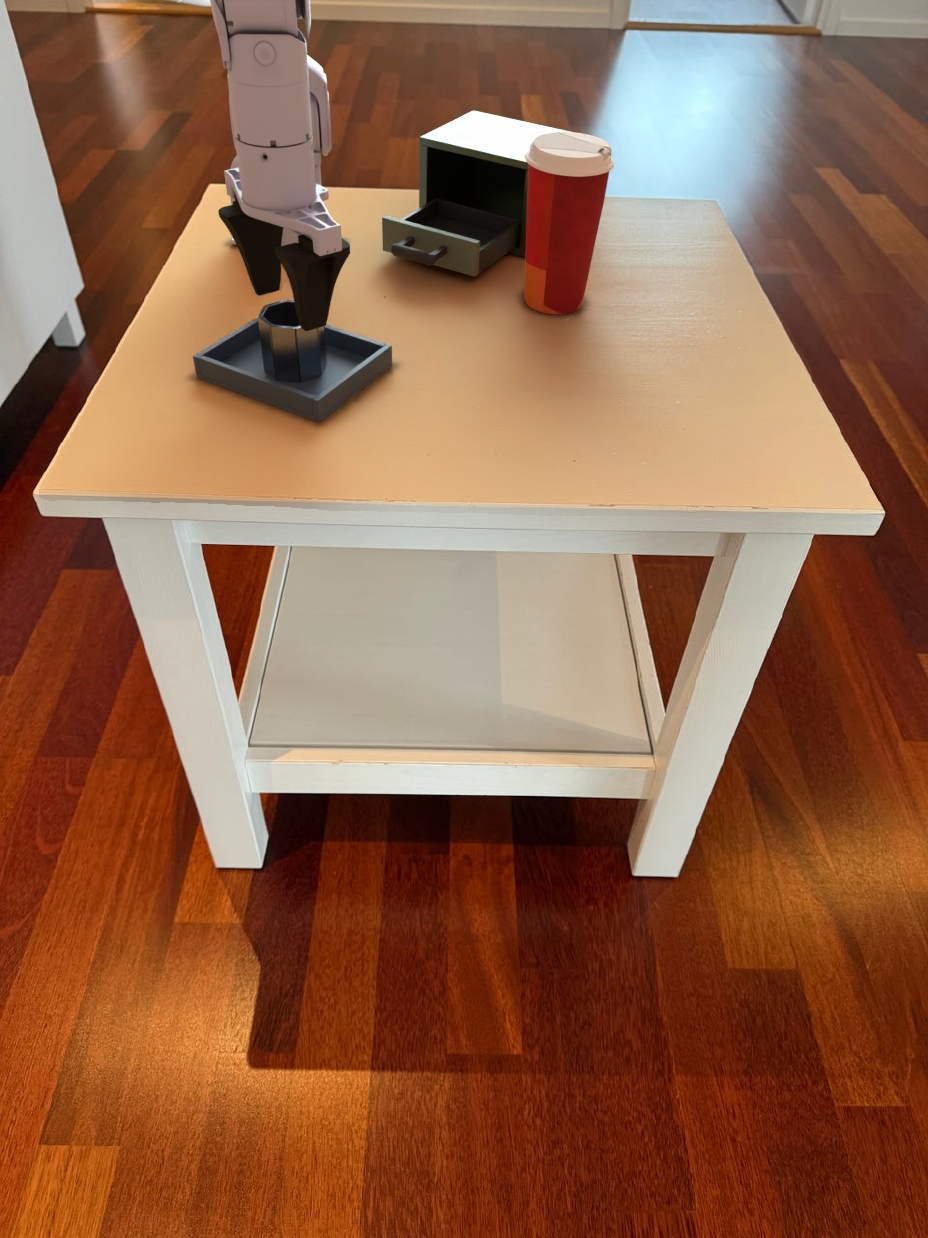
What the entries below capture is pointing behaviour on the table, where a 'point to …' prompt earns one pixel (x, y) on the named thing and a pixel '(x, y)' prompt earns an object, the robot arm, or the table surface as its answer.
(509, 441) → the table surface
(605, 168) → the coffee cup
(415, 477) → the table surface
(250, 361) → the tray
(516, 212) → the cabinet
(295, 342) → the faceted metal cup
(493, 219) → the drawer
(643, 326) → the table surface
